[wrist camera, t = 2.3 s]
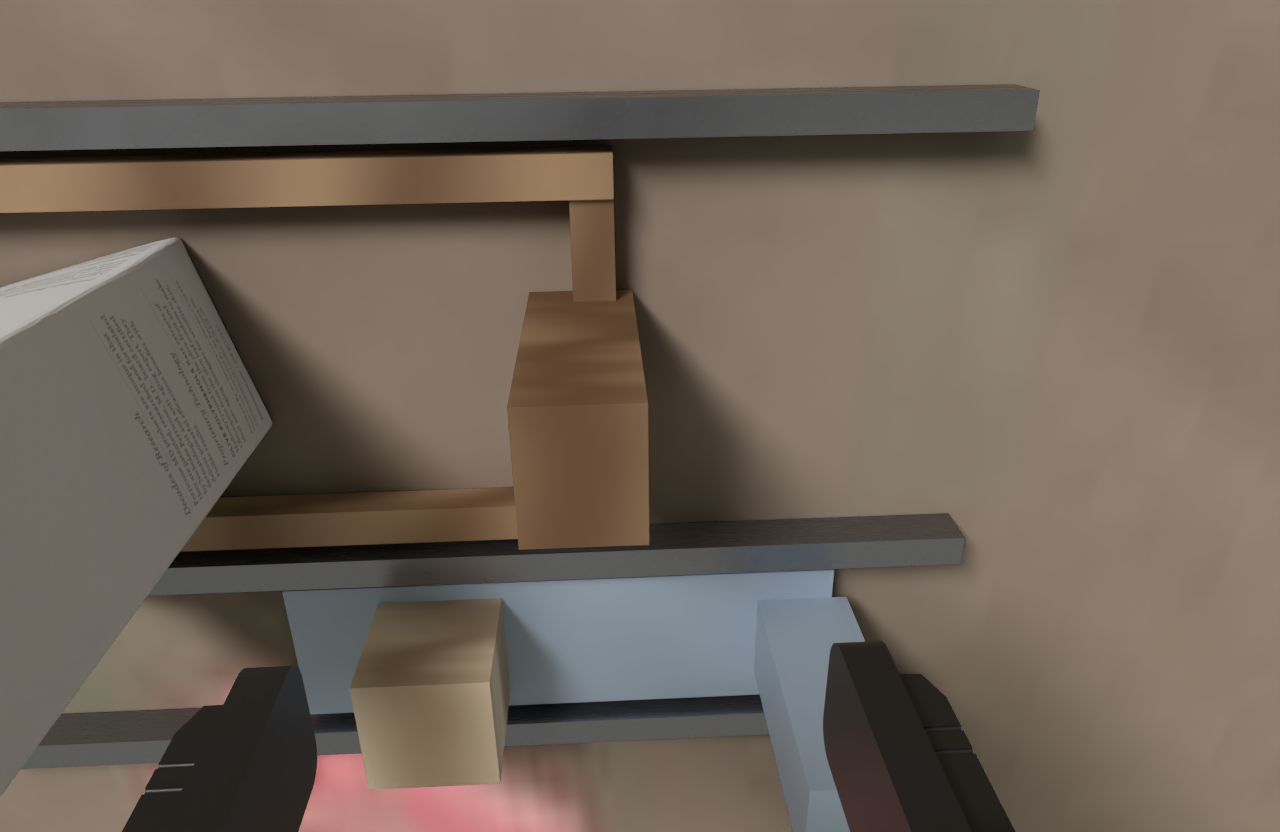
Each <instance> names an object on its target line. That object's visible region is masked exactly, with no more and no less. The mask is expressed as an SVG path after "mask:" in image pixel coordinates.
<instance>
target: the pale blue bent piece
mask: <svg viewBox="0 0 1280 832" xmlns="http://www.w3.org/2000/svg"><path fill="white" fill-rule="evenodd" d="M833 578H834V569H820V570H794V571H769V572H743V573H718V574H692V575H666V576H641V577H615V578H590V579H564V580H539V581H513V582H488V583H462V584H436V585H411V586H385V587H360V588H334V589H309V590H283V591H282V593H283V598H284V603H285V607H286V612H287V616H288V621H289V625H290V630H291V634H292V639H293V643H294V648H295V653H296V657H297V662H298V666H299V670H300V672H301V674H302V678H303V683H304V688H305V692H306V697H307V702H308V706H309V711H310V714H332V713H354V709H353V704H352V699H351V694H350V689H349V688H350V685H351V683H352V680H353V677H354V674H355V671H356V668H357V665H358V662H359V659H360V656H361V653H362V650H363V647H364V644H365V641H366V638H367V635H368V633H369V630H370V627H371V624H372V621H373V618H374V615H375V612H376V609H377V606H378V603H393V602H418V601H443V600H468V599H493V598H501V599H502V609H503V620H504V630H505V641H506V652H507V662H508V673H509V684H510V700H509V706H511V705H534V704H556V703H578V702H601V701H623V700H646V699H668V698H691V697H713V696H736V695H758V694H760V698H761V702H762V706H763V710H764V714H765V719H766V723H767V727H768V731H769V735H770V740H771V744H772V748H773V752H774V756H775V760H776V765H777V769H778V773H779V777H780V781H781V786H782V790H783V794H784V798H785V802H786V806H787V811H788V815H789V819H790V823H791V827H792V832H850V830H849V827H848V824H847V820H846V817H845V814H844V811H843V808H842V805H841V802H840V798H839V795H838V792H837V789H836V786H835V783H834V780H833V776H832V773H831V770H830V767H829V764H828V760H827V756H826V751H825V745H824V737H823V714H824V705H825V695H826V685H827V675H828V666H829V656H830V650H831V647H832V645H833V643H845V642H865V640H864V637H863V635H862V633H861V630H860V628H859V626H858V623H857V621H856V618H855V616H854V614H853V611H852V609H851V606H850V604H849V602H848V599H847V597H832V589H833Z"/></svg>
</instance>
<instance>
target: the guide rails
mask: <svg viewBox="0 0 1280 832" xmlns="http://www.w3.org/2000/svg"><path fill="white" fill-rule="evenodd" d="M1039 92H1040V90H1036V89H1032V88H1028V87H1024V86H1019V85H1015V84H1014V85H958V86H902V87H846V88H789V89H733V90H677V91H621V92H564V93H508V94H452V95H396V96H339V97H283V98H227V99H171V100H115V101H58V102H2V103H0V151H39V150H89V149H140V148H190V147H240V146H291V145H341V144H391V143H442V142H492V141H542V140H593V139H643V138H693V137H744V136H794V135H844V134H895V133H945V132H995V131H1033V128H1034V122H1035V116H1036V110H1037V104H1038V98H1039ZM964 541H965V537H964V536H963V534H962V533H961V531H960V530H959V528H958V527H957V525H956V524H955V523H954V521H953V520H952V518H951V517H950V515H949V514H921V515H894V516H867V517H839V518H812V519H785V520H758V521H731V522H704V523H677V524H649V545H632V546H606V547H579V548H553V549H526V550H519V546H518V539H505V540H478V541H451V542H424V543H397V544H370V545H344V546H317V547H290V548H263V549H236V550H210V551H183V552H179V553H178V555H177V556H176V557H175V559H174V560H173V562H172V563H171V564H170V566H169V567H168V568H167V570H166V571H165V572H164V573H163V575H162V576H161V578H160V580H159V581H158V582H157V583H156V585H155V586H154V587H153V589H152V590H151V592H150V593H149V594H148V596H155V595H181V594H206V593H232V592H258V591H283V590H309V589H334V588H360V587H385V586H411V585H436V584H462V583H488V582H513V581H539V580H564V579H590V578H615V577H641V576H666V575H692V574H718V573H743V572H769V571H794V570H820V569H845V568H871V567H896V566H922V565H948V564H961V559H962V553H963V547H964ZM200 709H201V708H190V709H167V710H145V711H122V712H99V713H77V714H61V715H60V716H59V717H58V719H57V720H56V721H55V723H54V724H53V725H52V727H51V728H50V730H49V731H48V732H47V734H46V735H45V736H44V738H43V739H42V740H41V742H40V743H39V745H38V746H37V747H36V749H35V750H34V752H33V753H32V754H31V756H30V757H29V759H28V760H27V761H26V763H25V764H24V765H23V767H22V768H21V769H30V768H52V767H74V766H95V765H117V764H138V763H159V762H160V760H161V758H162V757H163V755H164V753H165V751H166V749H167V747H168V745H169V744H170V742H171V740H172V738H173V736H174V734H175V733H176V732H177V731H178V730H179V729H180V728H181V727H182V726H183V725H184V724H185V723H186V722H187V721H189V720H190V719H191V718H192V717H193V716H194V715H195V714H196V713H197V712H198V711H199V710H200ZM310 716H311V720H312V725H313V730H314V734H315V739H316V745H317V755H333V754H354V753H362V751H361V746H360V741H359V735H358V730H357V725H356V720H355V715H354V713H332V714H310ZM764 734H769V731H768V727H767V723H766V719H765V714H764V710H763V706H762V702H761V698H760V694H758V695H736V696H713V697H691V698H668V699H646V700H623V701H601V702H578V703H556V704H534V705H511V706H509V709H508V717H507V726H506V735H505V744H504V747H505V746H527V745H548V744H570V743H592V742H613V741H635V740H656V739H678V738H700V737H721V736H743V735H764Z"/></svg>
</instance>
